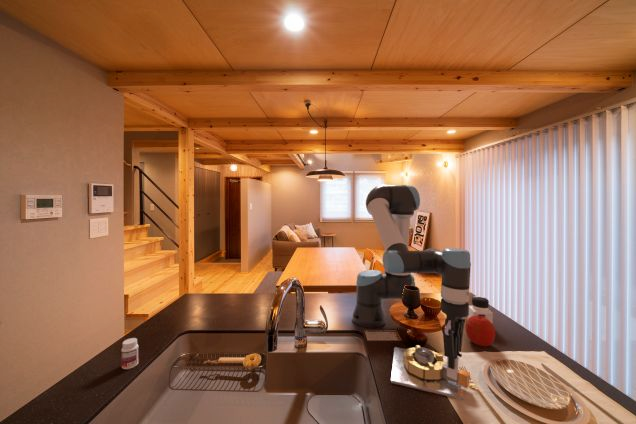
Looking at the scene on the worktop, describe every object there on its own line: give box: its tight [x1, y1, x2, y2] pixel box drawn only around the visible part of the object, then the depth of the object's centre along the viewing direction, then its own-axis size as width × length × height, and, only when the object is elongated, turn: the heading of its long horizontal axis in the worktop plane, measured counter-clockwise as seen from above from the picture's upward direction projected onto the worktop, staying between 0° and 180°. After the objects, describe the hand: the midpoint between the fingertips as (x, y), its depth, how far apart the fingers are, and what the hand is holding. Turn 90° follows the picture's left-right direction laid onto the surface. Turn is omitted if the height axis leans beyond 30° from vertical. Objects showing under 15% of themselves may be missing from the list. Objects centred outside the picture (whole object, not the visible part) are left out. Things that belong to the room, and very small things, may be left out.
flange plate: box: [390, 346, 465, 401], centre depth 85 cm, size 20×20×7 cm
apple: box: [464, 315, 496, 347], centre depth 102 cm, size 10×10×12 cm
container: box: [467, 295, 494, 325], centre depth 118 cm, size 8×8×13 cm
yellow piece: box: [403, 344, 471, 389], centre depth 83 cm, size 19×12×4 cm, turn 45°
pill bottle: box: [120, 337, 140, 370], centre depth 87 cm, size 5×5×8 cm
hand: (452, 377), depth 78 cm, fingers closed
